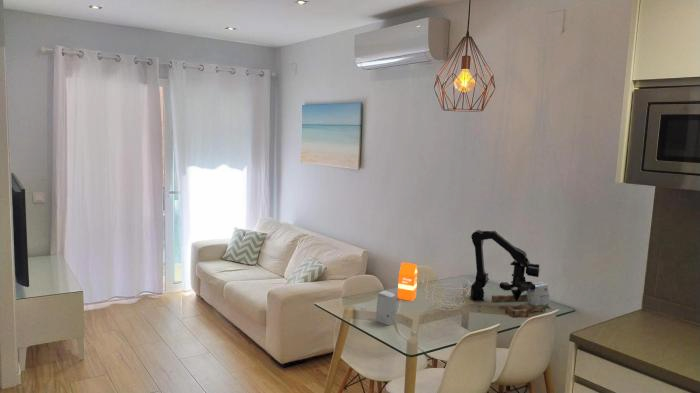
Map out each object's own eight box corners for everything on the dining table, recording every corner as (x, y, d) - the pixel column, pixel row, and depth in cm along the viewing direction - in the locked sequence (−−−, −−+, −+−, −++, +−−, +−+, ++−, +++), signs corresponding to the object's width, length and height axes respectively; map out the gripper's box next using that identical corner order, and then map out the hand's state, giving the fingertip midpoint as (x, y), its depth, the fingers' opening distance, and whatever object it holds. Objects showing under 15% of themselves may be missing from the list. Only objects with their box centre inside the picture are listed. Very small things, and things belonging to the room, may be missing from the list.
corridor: (511, 317, 263) (512, 309, 262) (491, 301, 285) (492, 294, 285) (551, 316, 267) (552, 308, 267) (528, 300, 290) (529, 293, 289)
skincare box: (375, 321, 250) (376, 292, 248) (382, 317, 254) (384, 289, 252) (389, 326, 245) (390, 296, 242) (396, 322, 249) (397, 293, 247)
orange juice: (412, 300, 280) (414, 266, 277) (397, 298, 284) (399, 263, 280) (416, 296, 288) (418, 262, 284) (401, 294, 291) (403, 260, 288)
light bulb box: (546, 299, 285) (543, 281, 284) (551, 303, 278) (547, 284, 277) (527, 303, 285) (524, 284, 285) (531, 306, 279) (528, 287, 278)
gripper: (510, 278, 266) (507, 306, 269) (542, 278, 270) (539, 305, 272) (500, 272, 277) (497, 299, 280) (531, 271, 281) (528, 298, 283)
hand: (516, 300), depth 279 cm, fingers closed
